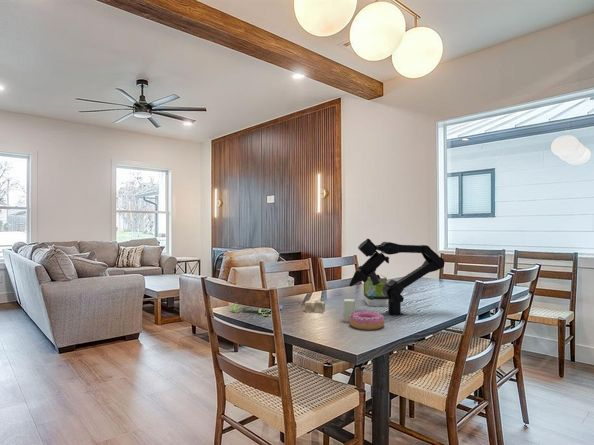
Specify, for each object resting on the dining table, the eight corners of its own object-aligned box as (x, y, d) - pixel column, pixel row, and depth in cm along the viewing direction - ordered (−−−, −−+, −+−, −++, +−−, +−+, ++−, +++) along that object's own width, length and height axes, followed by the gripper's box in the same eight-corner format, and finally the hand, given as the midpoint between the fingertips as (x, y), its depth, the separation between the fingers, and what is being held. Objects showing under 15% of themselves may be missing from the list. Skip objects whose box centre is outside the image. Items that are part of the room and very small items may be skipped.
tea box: (387, 306, 193) (387, 277, 194) (367, 306, 194) (367, 277, 194) (381, 300, 209) (381, 273, 209) (363, 300, 209) (363, 273, 209)
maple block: (324, 301, 184) (306, 300, 186) (323, 303, 180) (305, 302, 182) (324, 310, 184) (306, 309, 186) (323, 312, 180) (305, 311, 182)
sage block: (354, 319, 167) (354, 299, 167) (354, 322, 162) (354, 301, 162) (344, 319, 168) (344, 298, 168) (343, 321, 163) (343, 300, 163)
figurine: (248, 305, 199) (248, 294, 199) (291, 310, 186) (291, 299, 186) (225, 312, 184) (225, 300, 184) (270, 318, 170) (270, 306, 170)
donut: (391, 326, 157) (390, 314, 157) (371, 333, 147) (371, 320, 147) (362, 320, 167) (362, 308, 167) (342, 326, 157) (342, 314, 157)
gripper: (386, 278, 167) (361, 302, 169) (385, 272, 185) (363, 294, 187) (367, 260, 168) (343, 284, 171) (369, 256, 186) (347, 278, 189)
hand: (349, 285), depth 179 cm, fingers closed
